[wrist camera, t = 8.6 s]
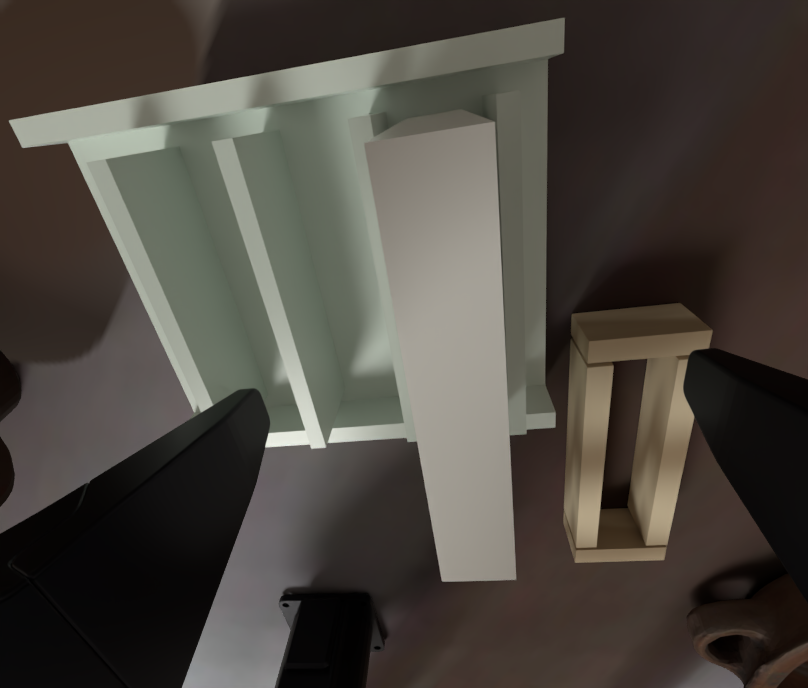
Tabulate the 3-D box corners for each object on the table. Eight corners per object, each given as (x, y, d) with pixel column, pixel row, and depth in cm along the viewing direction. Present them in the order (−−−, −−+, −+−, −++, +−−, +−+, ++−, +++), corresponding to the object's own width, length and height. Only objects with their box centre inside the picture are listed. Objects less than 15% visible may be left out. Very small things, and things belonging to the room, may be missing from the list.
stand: (644, 519, 25) (663, 560, 23) (563, 522, 25) (575, 562, 23) (680, 302, 18) (712, 329, 16) (571, 313, 19) (588, 341, 17)
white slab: (480, 363, 19) (516, 579, 11) (440, 367, 20) (441, 582, 11) (460, 108, 15) (495, 121, 6) (407, 117, 15) (363, 143, 6)
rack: (540, 386, 21) (567, 462, 16) (209, 413, 23) (156, 485, 19) (541, 32, 14) (587, 2, 10) (76, 117, 16) (-54, 123, 12)
